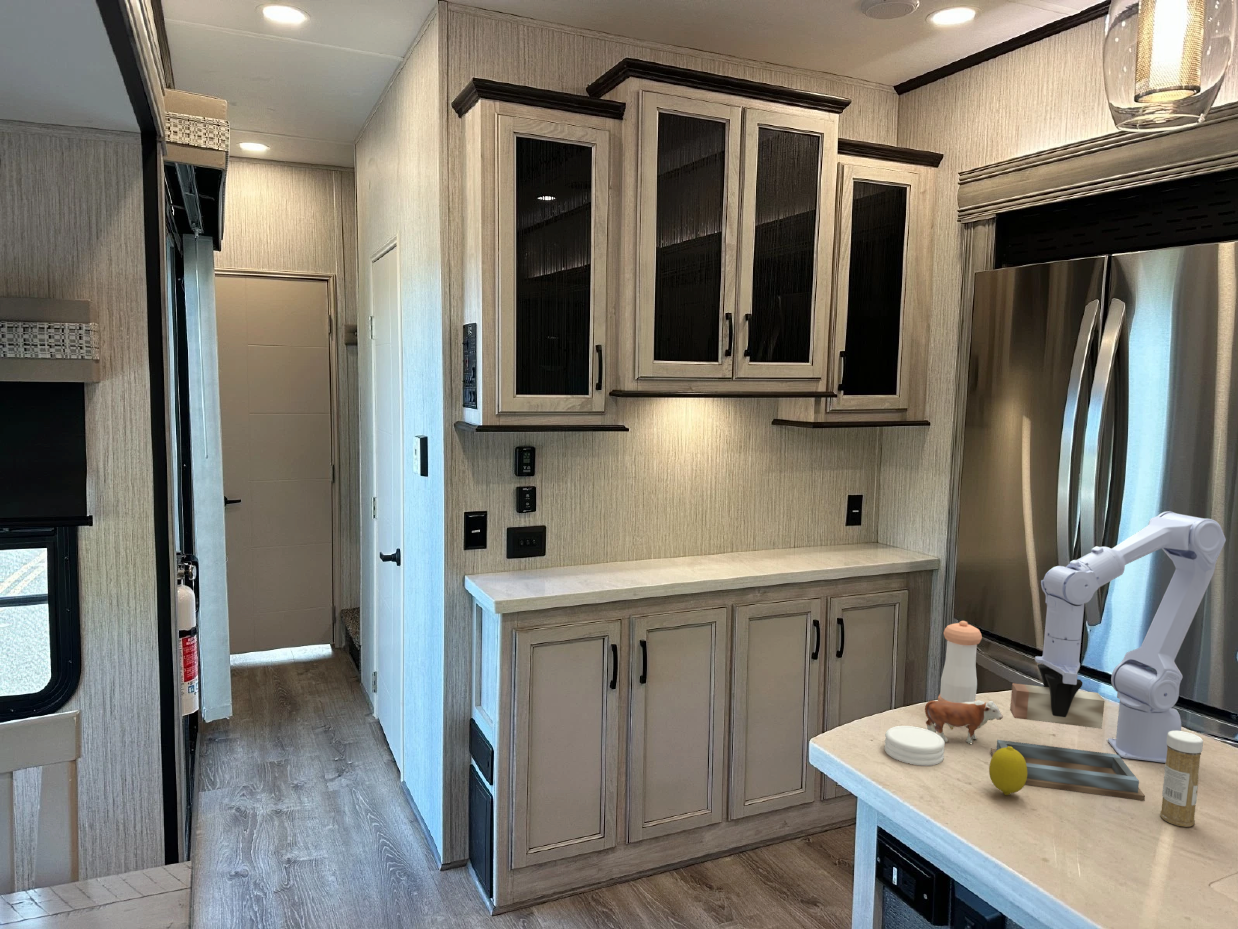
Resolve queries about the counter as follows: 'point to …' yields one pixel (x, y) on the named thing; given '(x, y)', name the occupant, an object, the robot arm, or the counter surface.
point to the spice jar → (1181, 778)
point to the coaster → (914, 745)
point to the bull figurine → (960, 716)
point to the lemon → (1008, 770)
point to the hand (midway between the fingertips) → (1056, 711)
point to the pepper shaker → (960, 663)
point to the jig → (1076, 770)
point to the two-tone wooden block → (1037, 706)
